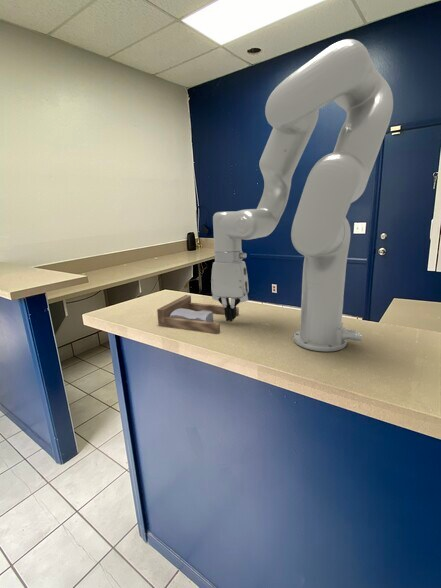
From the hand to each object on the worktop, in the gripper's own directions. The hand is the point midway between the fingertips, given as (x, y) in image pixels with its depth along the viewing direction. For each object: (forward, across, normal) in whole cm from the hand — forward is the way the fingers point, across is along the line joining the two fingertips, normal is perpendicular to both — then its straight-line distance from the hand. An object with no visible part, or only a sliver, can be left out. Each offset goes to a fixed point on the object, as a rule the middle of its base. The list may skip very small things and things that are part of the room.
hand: (230, 319), depth 91 cm
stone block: (+2, +12, +2) cm, 12 cm away
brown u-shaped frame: (+1, +9, 0) cm, 9 cm away
